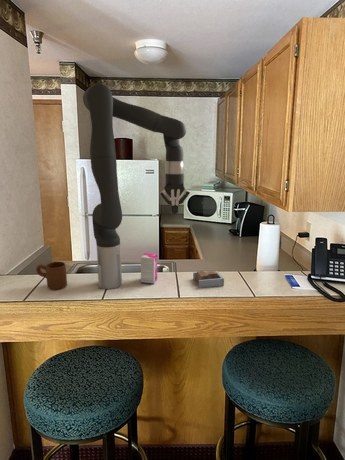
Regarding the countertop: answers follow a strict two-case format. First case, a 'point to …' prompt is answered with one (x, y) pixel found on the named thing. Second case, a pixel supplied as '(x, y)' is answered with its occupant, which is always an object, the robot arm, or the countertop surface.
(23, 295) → the countertop surface
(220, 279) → the pocket fence
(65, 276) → the mug
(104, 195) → the robot arm
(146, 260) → the supplement box
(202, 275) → the tee
